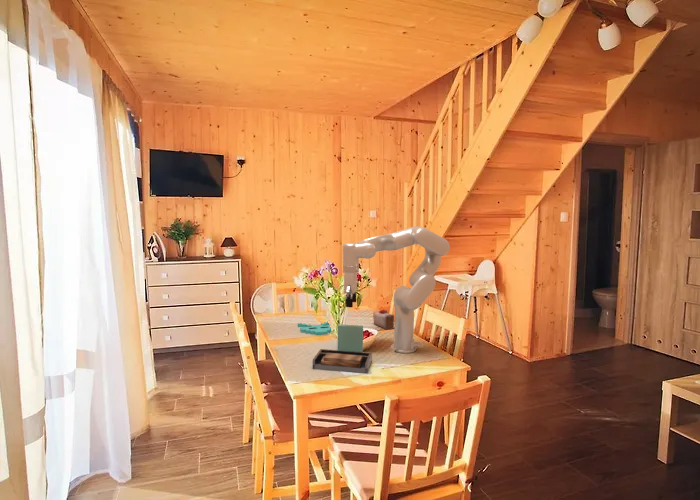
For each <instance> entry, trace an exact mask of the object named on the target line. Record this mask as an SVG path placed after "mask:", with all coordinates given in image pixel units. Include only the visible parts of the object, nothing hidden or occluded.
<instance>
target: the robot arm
mask: <svg viewBox="0 0 700 500" xmlns="http://www.w3.org/2000/svg"><path fill="white" fill-rule="evenodd" d="M414 245H419V246H420V247H423V248H424V258H423V260H422V261H421V263H420V264H419V265H418V266H417V267H416V268H415V270H413V272H412V273H411V275H410V276H409V279H408V282H409V284H410V286H411V287H408V286H406V285H401V286H399V287H397V288H396V289H395V290H394V293H393V304H394V305H393V306H394V307H393V308H394V328H393V329H394V331H393V332H394V333H393V335H394V336H393V343H392V344H391V345H390V349H391V350H393V351H394V352H396V353H401V354H410V353H414V352H416V350H417V348H423V343H421V342H420V341H419V342H418V341H415V338H414V333H415V332H414V329H415V328H414V327H415V323H414V322H415V312H414V311H415V310H417V309H419V308H420V307H421V306H422V305H423V304H424V303H425V301H426V300H427V299H428V298H429V296H430V295H431V294H432V292H433V291H434V290H435V287H436V284H437V282H436V278H435V276H434V275H435V274H436V273H437V271H438V270H439V268H440V266H441V261H442V257H444V256H446V255H447V254H448V253H450V249H451V246H450V245H451V244H450V242H449V241H448V240H447V239H446V238H444V237H442V236H440V235H438V234H437V233H435V232H433V231H431V230H430V229H428V228H426V227H422V226H417V225H416V226H410V227H408V228H407V227H406V228H404V229H401V230H398V231H394V232H391V233H386V234H383V235H377V236H372V237H369V238H366V239H362V240H359V241H358V242H357V243H356V242H346V243H343V245H342V273H344V275H343V276H344V277H343V294H344V295H345V307H346V308H353V307H354V303H357V289H358V284H357V283H358V277H357V275H358V273H360V269H359V268H360V264H359V263H360V260H359V259H367V260H368V259H372V258H374V257H375V255H377V252H382V251H383V252H384V251H389V252H390V251H397V250H401V249H404V248H406V247H411V246H414Z"/></svg>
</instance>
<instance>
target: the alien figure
mask: <svg viewBox="0 0 700 500" xmlns="http://www.w3.org/2000/svg"><path fill="white" fill-rule="evenodd" d="M328 321H329V320H327V321H324V322H323V323H321V324H314V325H313V324H311V323H310V324H307V323H302V322H298V323H297V327H298V328H299V329H300V333H303V334H304V333H305V334H308V335H309V334H310V335H315V336H323V335H325V336H327V335H329V334H331V327H330V325H329V323H328Z"/></svg>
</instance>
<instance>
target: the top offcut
mask: <svg viewBox="0 0 700 500" xmlns="http://www.w3.org/2000/svg"><path fill="white" fill-rule="evenodd" d="M324 361H330V362H341V363H352V364H360V363H361V361H362V356H360V355H349V354H338V353H327V354H326V355H325V356H324Z"/></svg>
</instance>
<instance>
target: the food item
mask: <svg viewBox="0 0 700 500" xmlns="http://www.w3.org/2000/svg"><path fill="white" fill-rule="evenodd" d="M372 315H373V318H372V319H373V325H374V326H377V327H380V328H382V329H385V330H390V329H391V328H392V329H394V323H395V314H392V313H389V312H388V310H387V309H386V310H385V309H380V310H374V311H373V313H372Z"/></svg>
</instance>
